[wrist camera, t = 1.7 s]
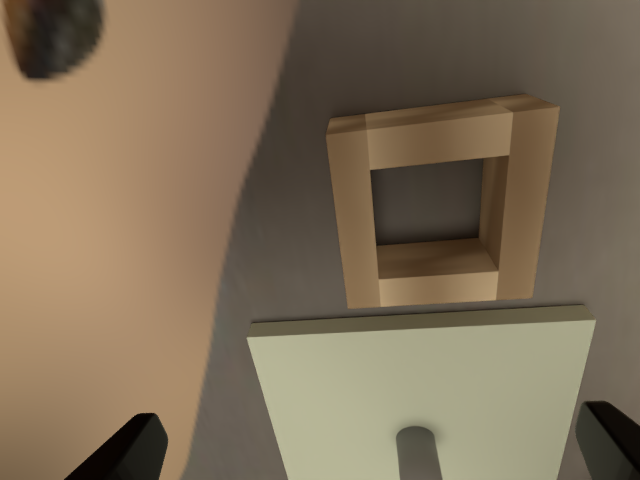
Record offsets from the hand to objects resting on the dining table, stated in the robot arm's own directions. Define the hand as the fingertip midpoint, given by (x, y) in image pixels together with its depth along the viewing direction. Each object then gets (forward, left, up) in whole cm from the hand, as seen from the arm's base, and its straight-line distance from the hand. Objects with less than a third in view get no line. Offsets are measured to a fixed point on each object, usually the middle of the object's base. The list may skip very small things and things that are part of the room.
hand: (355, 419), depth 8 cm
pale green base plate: (-2, +16, -12) cm, 20 cm away
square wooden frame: (-3, 0, -12) cm, 12 cm away
